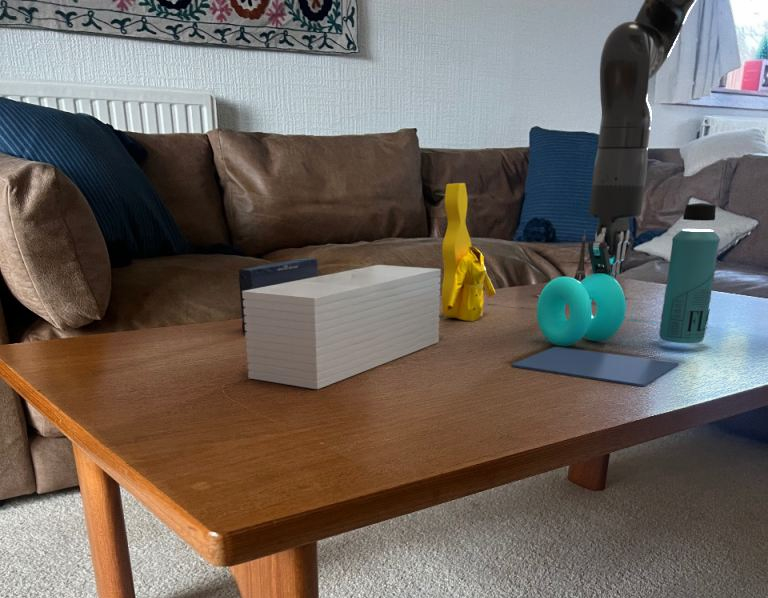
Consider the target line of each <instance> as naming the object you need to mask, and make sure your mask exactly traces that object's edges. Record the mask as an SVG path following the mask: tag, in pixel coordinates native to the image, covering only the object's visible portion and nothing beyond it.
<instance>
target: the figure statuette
mask: <svg viewBox="0 0 768 598" xmlns="http://www.w3.org/2000/svg"><path fill="white" fill-rule="evenodd" d="M466 186H467V185H466V183H465V182H457V183H447V184H446V185H445V193H444V209H445V214H446V219H447V225H446V230H445V235H444V237H443V241H442V248H441V254H442V262H443V279H442V286H441V306H442V314H443V317H444V318H446V319H447V318H450V319H454V318H455V319H457V320H462V321H468V322H474V321H477V320H479V319H480V318H481V317H482V316H483V315H484V302H485V301H484V300H485V295H484V294H485V293H486V295H487V298H491V297H493V296H494V295H496V293H497V292H496V290H495V288H494V285H493V283H492V281H491V278H490V277H489V276H488V273H487V268H486V266H485V256H484V255H483V253H482V252H481V251H480V250H479V249H478V248H477V247H476V246H472V240H471V236H470V234H469V231H468V228H467V223H466V219H467V212H468V199H469V198H468V192H467V187H466ZM484 291H485V293H484Z"/></svg>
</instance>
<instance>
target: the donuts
mask: <svg viewBox="0 0 768 598" xmlns="http://www.w3.org/2000/svg"><path fill="white" fill-rule="evenodd" d="M539 295H540V297H539V296H538V300H537V305H536V319H537V324H538V327H539V330H540V332H541V333H542V335H543V336H544V337H545V339H546V340H547V341H548V342H549V343H551V344H553V345H555V346H557V347H569V346H573V345H574V344H577V343H578V342H579V341H580V340H581V339H583V338H585V339H587V340H589V341H592V342H604V341H607V340H608V339H610V338H612V337H613V336H615V334H616V333H618V331H619V330H620V328H621V327H622V325H623V323H624V320H625V316H626V311H627V302H626V296H625V293H624V290H623V288H622V286H621V284H620V283H619V282H618V281H617V279H616V280H615V279H614V278H612V277H611V276H609V275H606V274H602V273H596V274H593V273H591V274H589V275H588V276H586V278H584V279H583V280H582V281H581V280H579V281H577V280H576V279H574V277H570V276H557V277H556V278H555V277H554V279H551V280H550V281H549V282H548V283H547V284H546V285H545V286H544V288H542V290H541V292H540V294H539ZM593 301H594V303H595V305H596V311H595V315H593V313H592V312H593V307H592V303H593ZM567 305H568V308H569V317H568V318H567V315H566V306H567Z"/></svg>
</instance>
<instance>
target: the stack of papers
mask: <svg viewBox="0 0 768 598" xmlns="http://www.w3.org/2000/svg"><path fill="white" fill-rule="evenodd" d="M441 275H442V269H441V268H432V267H431V268H430V267H416V266H403V265H402V266H401V265H388V264H387V265H386V264H376V265H371V266H366V267H359V268H355V269H349V270H344V271H339V272H335V273H334V272H333V273H329V274H325V275H318V277H313V278H308V279H302V280H297V281H292V282H287V283H282V284H276V285H271V286H266V287H261V288H256V289H250V290H245V291H242V295H243V299H244V300H243V307H245V308H244V315H246V316H245V317H244V323H246V325H245V331H247V332H246V333H244V335H245V339H246V340H245V347H247V348H246V362H247V363H246V366H247V370H248V371H247V377H248V379H253V380H257V381H258V380H259V381H264V382H269V383H276V384H283V385H288V386H296V387H301V388H307V389H313V390H320V389H322V388H324V387H328V386H330V385H332V384H334V383H338V382H340V381H342V380H346V379H348V378H350V377H353V376H355V375H358V374H361V373H363V372H366V371H369V370H371V369H374V368H376V367H379V366H382V365H384V364H386V363H387V364H388V363H389V362H391V361H394V360H397V359H400V358H402V357H404V356H407V355H409V354H413V353H415V352H417V351H420V350H423V349H425V348H427V347H430V346H433V345H435V344H437V343H439V342H440V336H439V335H440V330H439V329H440V323H439V322H440V317H439V316H440V314H441V313H440V308H441V305H440V302H441Z"/></svg>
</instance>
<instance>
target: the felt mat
mask: <svg viewBox="0 0 768 598" xmlns="http://www.w3.org/2000/svg"><path fill="white" fill-rule="evenodd" d="M679 364H680V363H679V362H675V361H674V362H673V361H666V360H658V359H651V358H643V357H636V356H629V355H623V354H622V355H621V354H614V353H606V352H599V351H592V350H584V349H578V348H577V349H576V348H570V347H563V346H553V347H551V348H548V349H545V350H543V351H541V352H538V353H535V354H533V355H531V356H529V357H526V358H524V359H521V360H519V361H516V362H513V363H512V364H510V366H511V367H512V368H518V369H524V370H532V371H536V372H537V371H538V372H543V373H550V374H551V373H552V374H557V375H563V376H570V377H577V378H582V379H588V380H589V379H590V380H596V381H603V382H609V383H615V384H621V385H629V386H635V387H640V388H641V387H642V388H644V387H646V386H648V385H649V384H650V383H652V382H654V381H656V380H657V379H659V378H660V377H663V376H664V375H665V374H666V373H668V372H670V371H671V370H674V368H677V366H679Z"/></svg>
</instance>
